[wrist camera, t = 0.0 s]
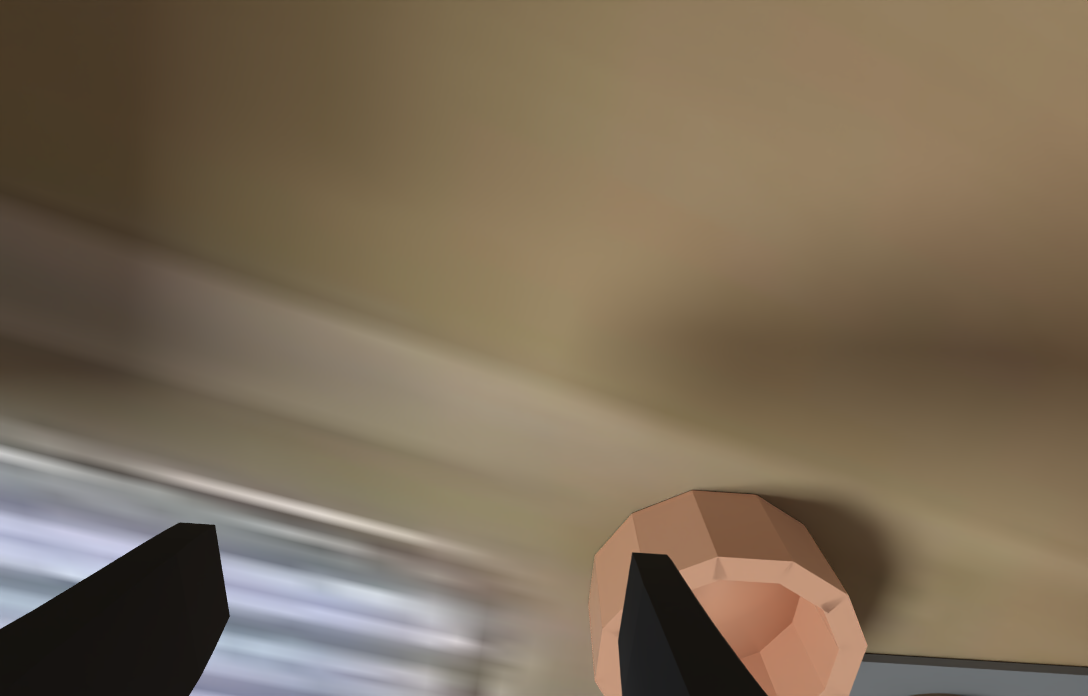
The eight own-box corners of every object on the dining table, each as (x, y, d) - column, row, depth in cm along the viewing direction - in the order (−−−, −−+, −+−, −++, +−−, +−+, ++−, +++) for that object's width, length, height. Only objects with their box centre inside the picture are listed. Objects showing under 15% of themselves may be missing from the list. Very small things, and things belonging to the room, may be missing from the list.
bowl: (788, 674, 25) (825, 758, 21) (580, 662, 24) (585, 745, 21) (843, 500, 21) (896, 568, 18) (603, 484, 21) (613, 549, 18)
